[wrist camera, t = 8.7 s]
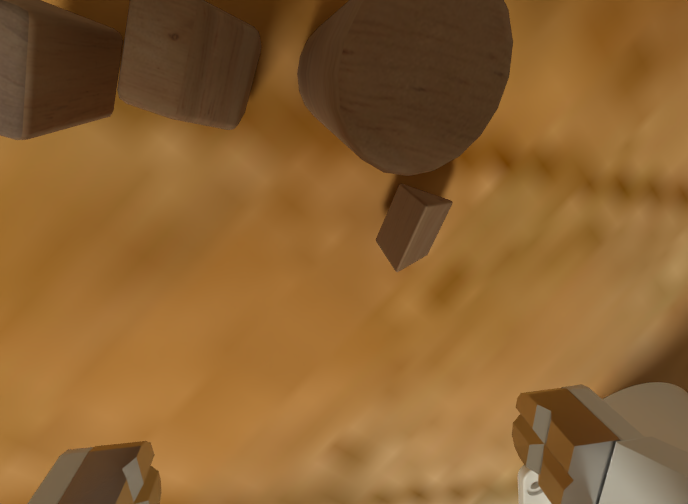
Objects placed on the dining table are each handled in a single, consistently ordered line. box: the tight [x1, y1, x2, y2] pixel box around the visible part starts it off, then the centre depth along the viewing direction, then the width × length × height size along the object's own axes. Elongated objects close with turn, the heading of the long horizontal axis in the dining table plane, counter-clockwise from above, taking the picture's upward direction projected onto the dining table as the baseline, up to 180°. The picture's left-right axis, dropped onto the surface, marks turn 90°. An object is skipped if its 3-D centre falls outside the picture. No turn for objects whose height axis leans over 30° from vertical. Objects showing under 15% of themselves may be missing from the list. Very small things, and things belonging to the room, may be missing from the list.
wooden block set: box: [0, 0, 513, 272], centre depth 12 cm, size 18×9×10 cm, turn 70°
